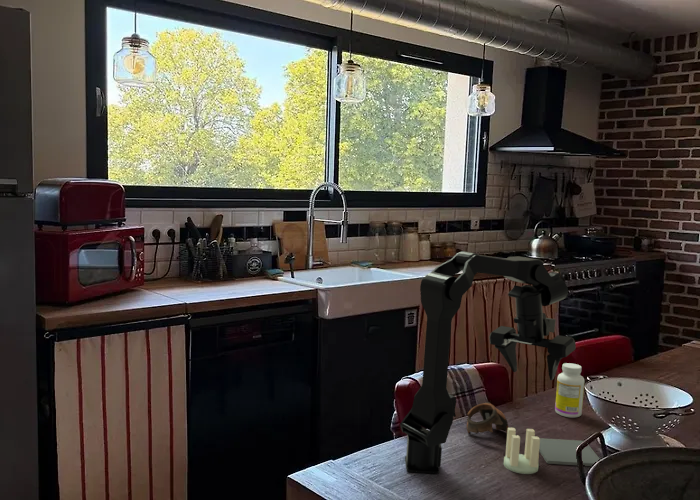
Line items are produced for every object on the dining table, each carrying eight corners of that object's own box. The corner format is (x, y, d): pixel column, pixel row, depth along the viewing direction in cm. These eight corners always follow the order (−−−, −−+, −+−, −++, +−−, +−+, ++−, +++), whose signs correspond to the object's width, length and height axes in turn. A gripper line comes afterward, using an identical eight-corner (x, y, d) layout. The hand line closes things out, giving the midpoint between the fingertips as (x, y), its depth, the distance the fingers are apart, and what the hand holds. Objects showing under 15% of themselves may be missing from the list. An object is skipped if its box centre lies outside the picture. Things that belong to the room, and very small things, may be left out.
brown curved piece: (515, 446, 145) (503, 417, 142) (476, 458, 147) (463, 431, 144) (507, 414, 156) (495, 387, 153) (471, 426, 158) (458, 400, 155)
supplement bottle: (564, 407, 170) (568, 360, 169) (586, 415, 165) (591, 367, 163) (549, 411, 166) (553, 364, 165) (571, 420, 161) (576, 371, 159)
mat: (547, 463, 135) (547, 460, 135) (532, 440, 147) (532, 437, 147) (604, 466, 135) (604, 464, 135) (584, 443, 147) (585, 440, 147)
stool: (507, 473, 130) (510, 439, 129) (500, 458, 137) (503, 425, 136) (542, 475, 130) (545, 441, 129) (533, 460, 137) (536, 427, 136)
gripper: (584, 305, 143) (587, 370, 147) (509, 296, 156) (513, 355, 159) (562, 322, 135) (566, 389, 139) (485, 310, 148) (490, 372, 151)
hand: (533, 375), depth 147 cm, fingers open, 9 cm apart
